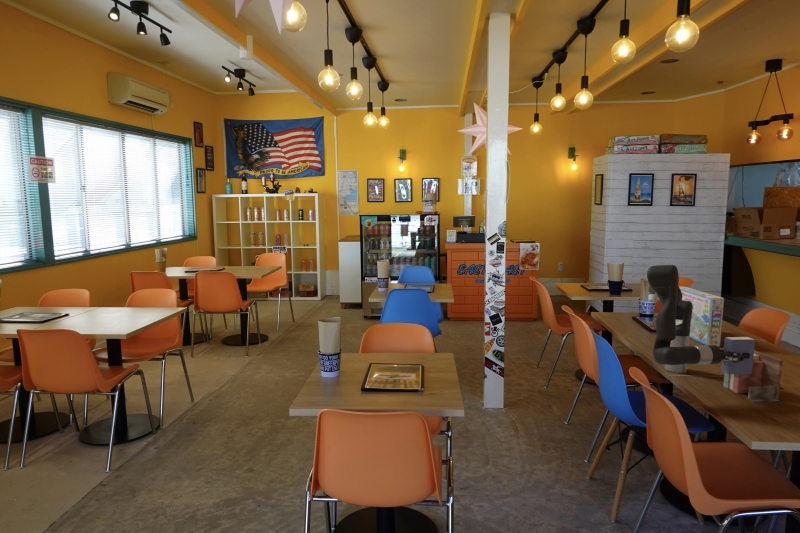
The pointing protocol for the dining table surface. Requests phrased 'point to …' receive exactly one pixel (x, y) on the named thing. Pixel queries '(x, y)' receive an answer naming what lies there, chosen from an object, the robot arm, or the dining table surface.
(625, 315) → the dining table surface
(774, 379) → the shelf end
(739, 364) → the boxed book
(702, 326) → the game box
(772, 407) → the dining table surface
